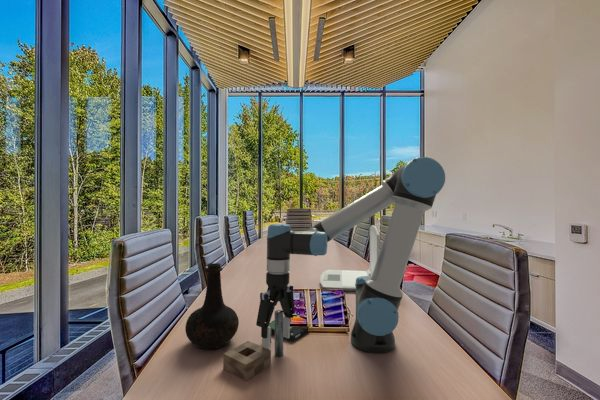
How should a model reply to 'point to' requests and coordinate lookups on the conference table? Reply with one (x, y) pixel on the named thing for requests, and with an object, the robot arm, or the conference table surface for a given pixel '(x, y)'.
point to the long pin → (278, 333)
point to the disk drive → (291, 332)
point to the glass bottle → (212, 315)
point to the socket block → (246, 360)
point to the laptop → (348, 277)
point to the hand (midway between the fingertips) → (276, 342)
